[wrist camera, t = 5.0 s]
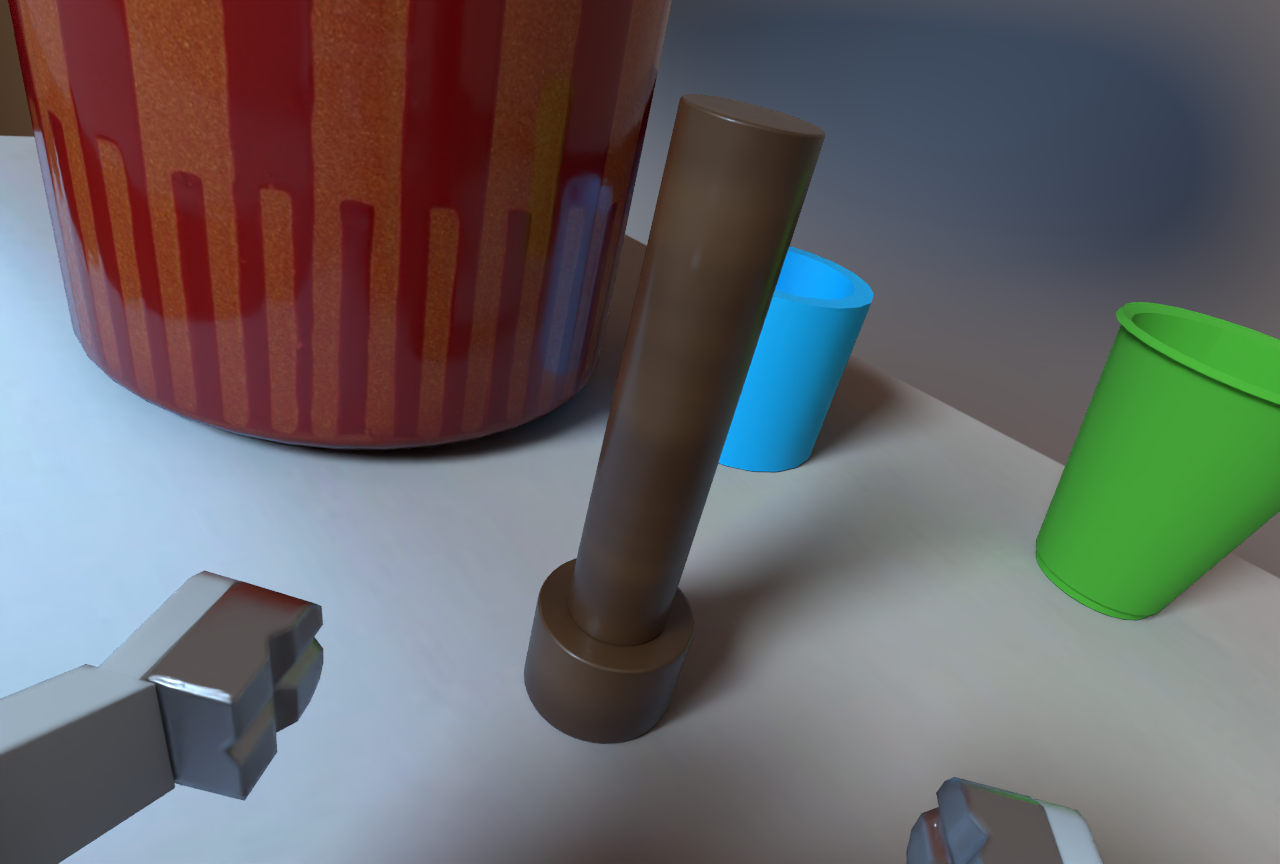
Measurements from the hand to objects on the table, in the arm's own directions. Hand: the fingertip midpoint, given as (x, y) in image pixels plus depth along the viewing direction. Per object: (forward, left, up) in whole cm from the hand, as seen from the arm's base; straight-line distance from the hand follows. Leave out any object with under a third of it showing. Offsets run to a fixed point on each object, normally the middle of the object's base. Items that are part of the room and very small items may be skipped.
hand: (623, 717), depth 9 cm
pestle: (+9, 0, -10) cm, 13 cm away
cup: (+21, -20, -10) cm, 30 cm away
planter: (+26, +15, -10) cm, 32 cm away
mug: (+28, -5, -10) cm, 30 cm away
